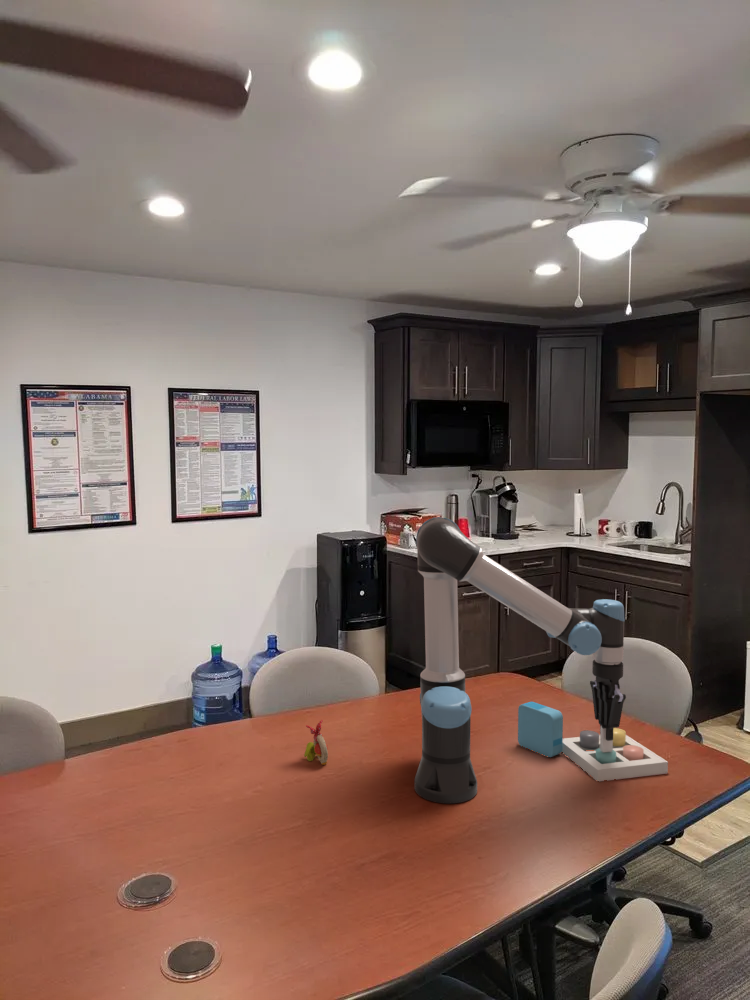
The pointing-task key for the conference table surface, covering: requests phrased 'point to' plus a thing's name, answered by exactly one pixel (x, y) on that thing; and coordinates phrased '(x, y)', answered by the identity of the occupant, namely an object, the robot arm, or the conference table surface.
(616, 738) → the mustard button
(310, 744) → the bird rattle
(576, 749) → the tray
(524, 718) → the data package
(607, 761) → the teal button
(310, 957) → the conference table surface
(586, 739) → the charcoal button
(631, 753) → the coral button
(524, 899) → the conference table surface
